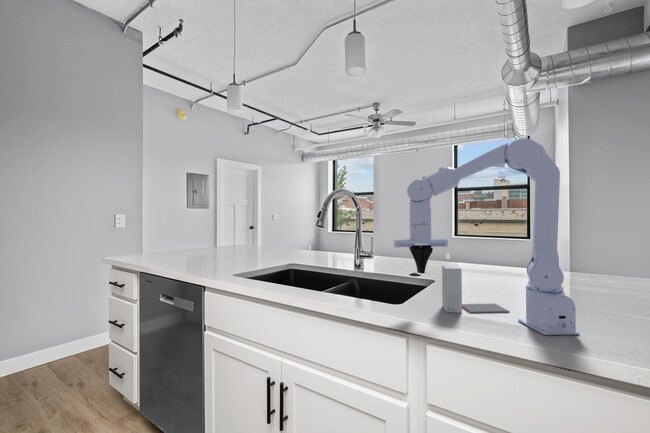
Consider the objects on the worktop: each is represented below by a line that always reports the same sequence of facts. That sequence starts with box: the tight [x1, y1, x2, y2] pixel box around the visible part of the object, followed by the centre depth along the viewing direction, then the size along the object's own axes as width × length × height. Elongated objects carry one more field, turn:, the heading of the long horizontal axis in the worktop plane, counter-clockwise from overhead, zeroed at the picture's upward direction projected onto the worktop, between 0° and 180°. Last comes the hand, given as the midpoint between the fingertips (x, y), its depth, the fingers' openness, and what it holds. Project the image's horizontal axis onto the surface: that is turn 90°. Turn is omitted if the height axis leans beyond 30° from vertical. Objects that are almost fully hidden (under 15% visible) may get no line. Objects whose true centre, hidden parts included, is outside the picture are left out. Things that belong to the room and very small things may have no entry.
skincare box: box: [441, 264, 463, 314], centre depth 87 cm, size 6×4×12 cm
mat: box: [462, 303, 510, 314], centre depth 87 cm, size 7×10×1 cm, turn 90°
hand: (421, 272), depth 87 cm, fingers closed
